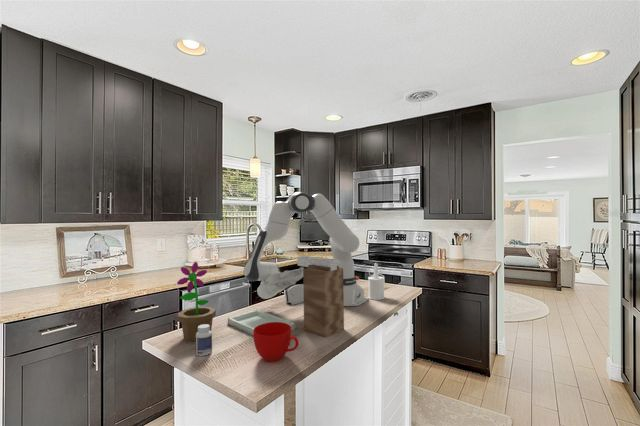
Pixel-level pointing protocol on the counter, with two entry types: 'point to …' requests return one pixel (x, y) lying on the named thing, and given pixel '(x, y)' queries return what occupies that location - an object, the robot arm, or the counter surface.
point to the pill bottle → (203, 340)
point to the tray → (255, 321)
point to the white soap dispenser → (376, 285)
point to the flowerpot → (197, 314)
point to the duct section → (317, 262)
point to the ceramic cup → (273, 340)
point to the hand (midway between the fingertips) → (295, 270)
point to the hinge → (295, 294)
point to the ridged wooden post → (323, 300)
